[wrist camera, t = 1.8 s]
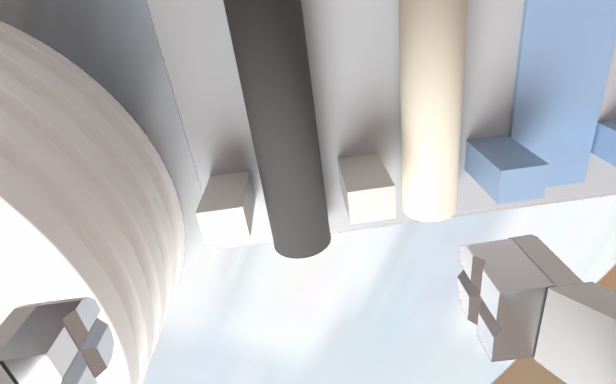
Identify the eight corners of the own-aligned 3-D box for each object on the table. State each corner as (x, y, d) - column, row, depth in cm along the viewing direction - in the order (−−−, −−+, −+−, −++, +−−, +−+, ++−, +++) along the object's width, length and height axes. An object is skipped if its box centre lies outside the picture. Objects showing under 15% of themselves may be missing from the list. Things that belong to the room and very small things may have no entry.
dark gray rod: (222, -45, 19) (204, -50, 16) (295, -57, 19) (291, -64, 16) (276, 227, 27) (271, 260, 24) (329, 222, 27) (331, 255, 23)
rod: (390, -46, 20) (408, -51, 17) (454, -56, 20) (483, -63, 17) (397, 199, 26) (410, 225, 23) (445, 192, 26) (464, 217, 23)
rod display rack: (136, -55, 20) (88, -67, 15) (703, -140, 19) (844, -181, 14) (220, 240, 28) (207, 294, 23) (615, 186, 28) (686, 229, 23)
